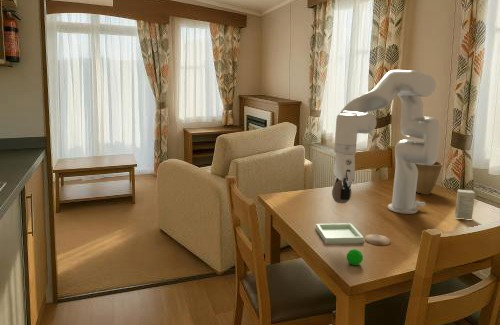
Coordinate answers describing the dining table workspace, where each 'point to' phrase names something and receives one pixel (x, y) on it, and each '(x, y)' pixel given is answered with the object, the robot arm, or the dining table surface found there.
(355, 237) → the tray
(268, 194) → the dining table surface
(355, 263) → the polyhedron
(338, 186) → the vase
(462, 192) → the skincare box
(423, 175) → the plant pot
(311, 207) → the dining table surface
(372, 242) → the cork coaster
